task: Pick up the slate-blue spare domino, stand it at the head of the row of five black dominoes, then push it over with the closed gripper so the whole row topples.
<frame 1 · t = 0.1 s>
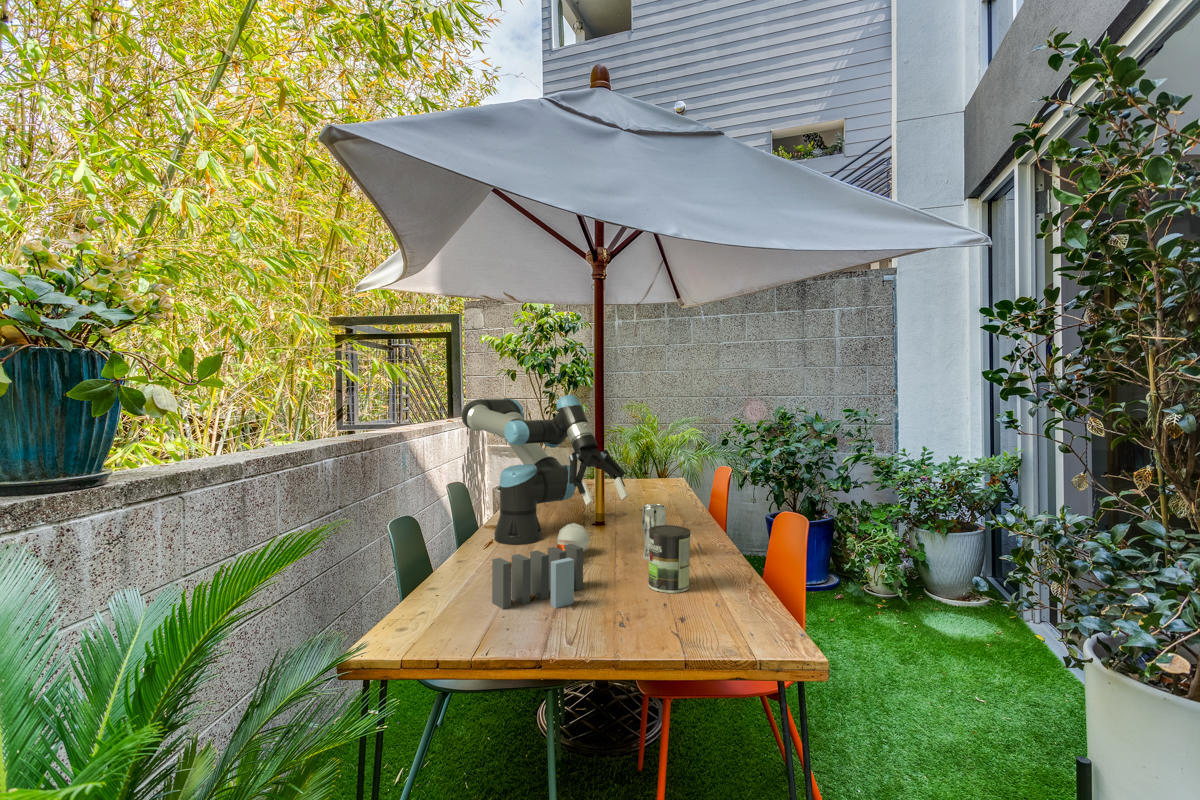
hand: (607, 500, 177), 15 cm above the table, tool tilted 35°, fingers open, 13 cm apart
domino 3: (539, 595, 139), on the table
domino 5: (501, 605, 133), on the table
silver metal cylinder: (653, 558, 171), on the table
domino 2: (556, 591, 142), on the table
coffee can: (668, 587, 147), on the table
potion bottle: (571, 559, 170), on the table
domino 1: (573, 586, 146), on the table
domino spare: (562, 604, 134), on the table
domino 4: (520, 600, 136), on the table
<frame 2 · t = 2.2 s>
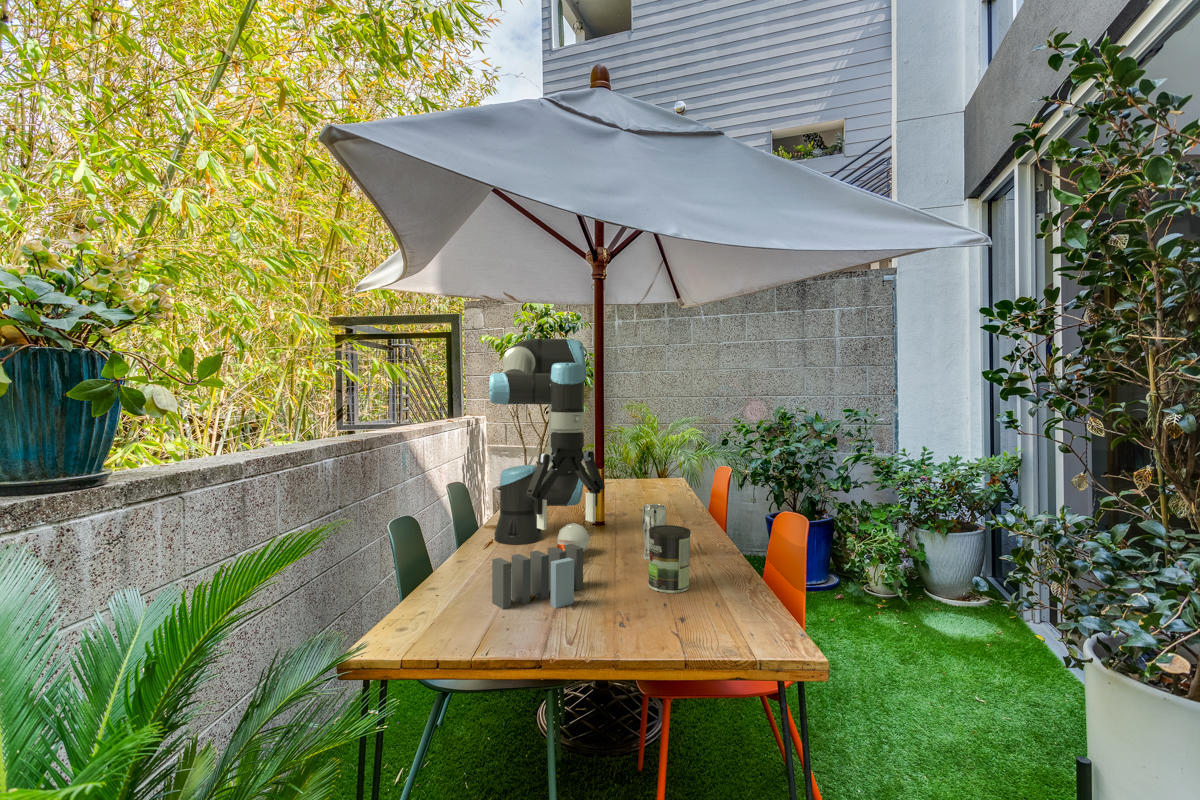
hand: (566, 525, 134), 18 cm above the table, tool pointing down, fingers open, 13 cm apart
nothing on the table moved.
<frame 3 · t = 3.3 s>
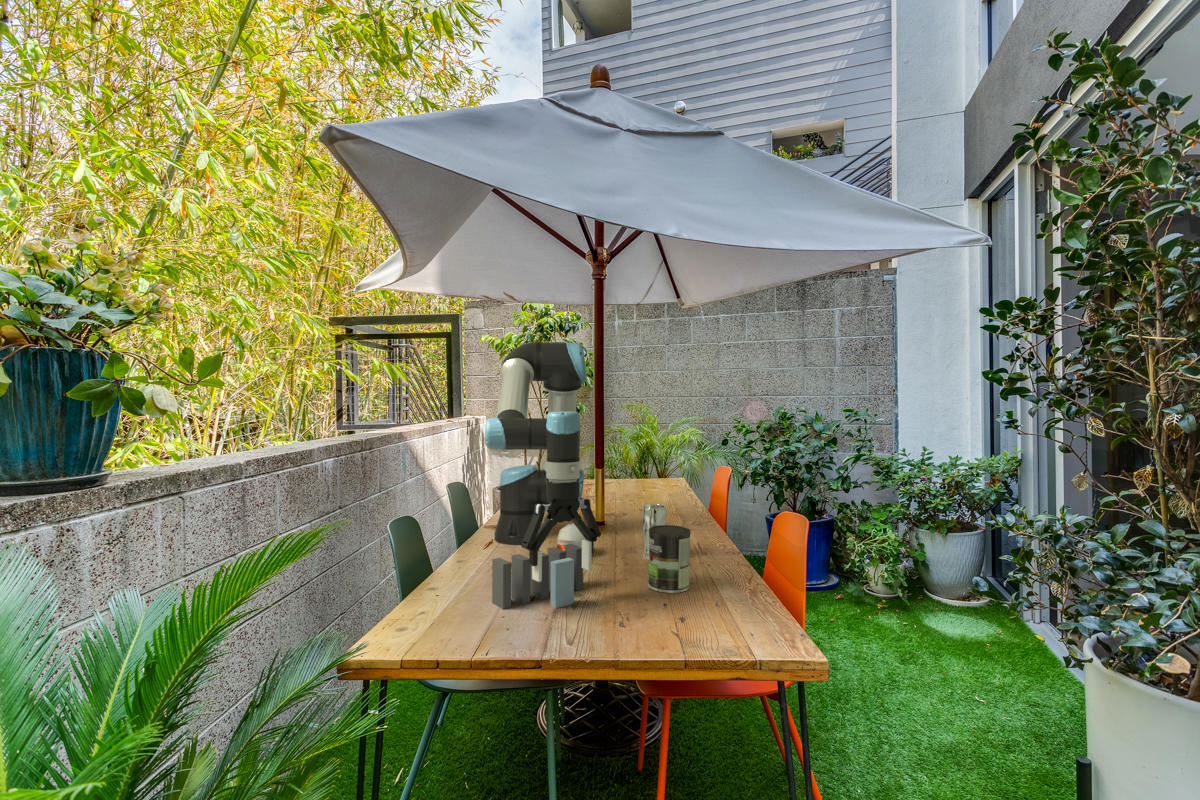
hand: (562, 574, 133), 7 cm above the table, tool pointing down, fingers open, 13 cm apart
nothing on the table moved.
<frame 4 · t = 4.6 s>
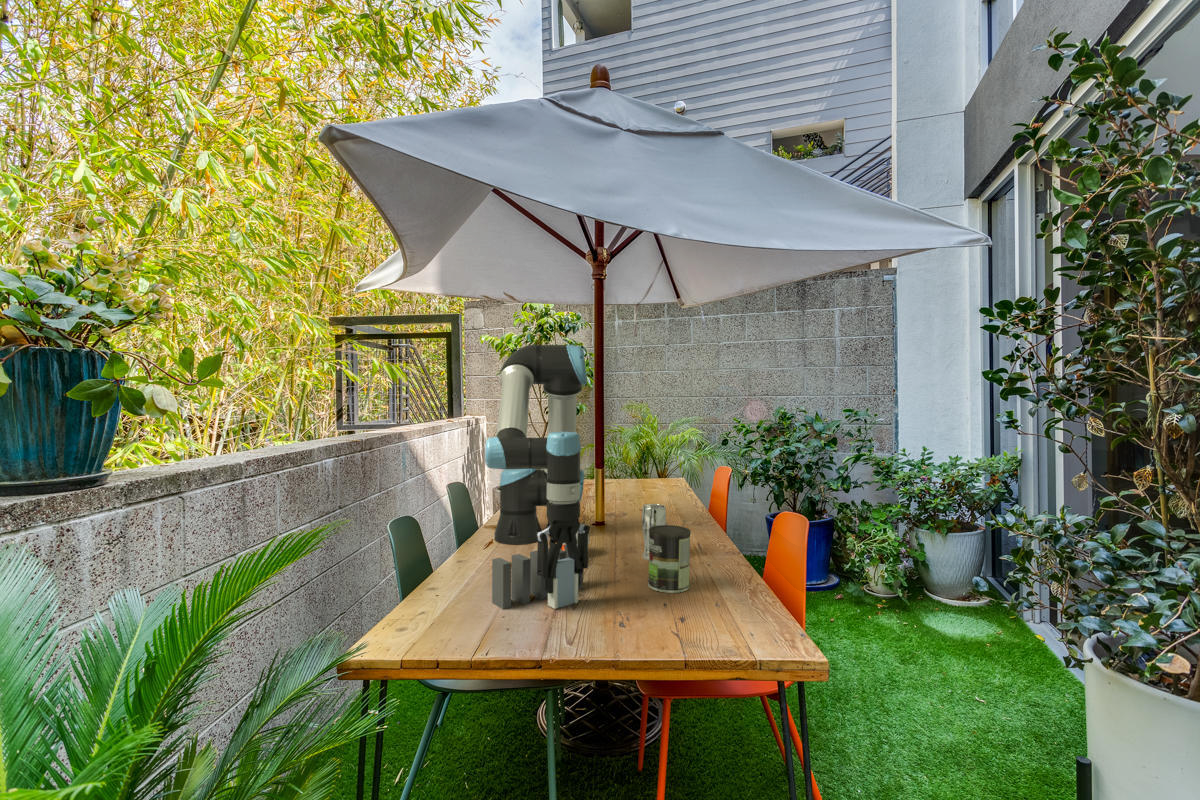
hand: (563, 603, 134), 0 cm above the table, tool pointing down, fingers closed on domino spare, 5 cm apart
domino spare: (562, 604, 134), on the table, touching gripper
everything else where it was.
when the fingers open (1 cm above the table, at t = 9.6 s): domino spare stays where it is, on the table.
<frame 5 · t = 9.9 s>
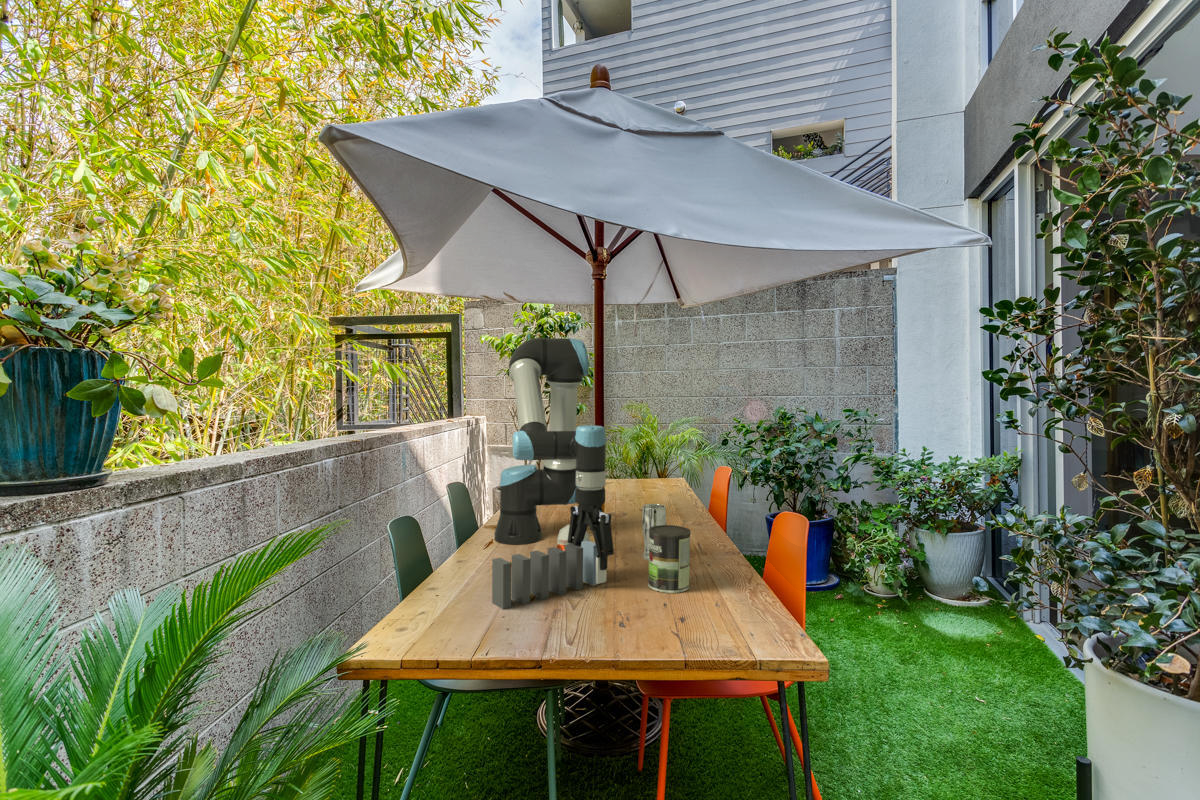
hand: (589, 577, 149), 1 cm above the table, tool pointing down, fingers open, 8 cm apart
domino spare: (590, 582, 149), on the table
everything else where it was.
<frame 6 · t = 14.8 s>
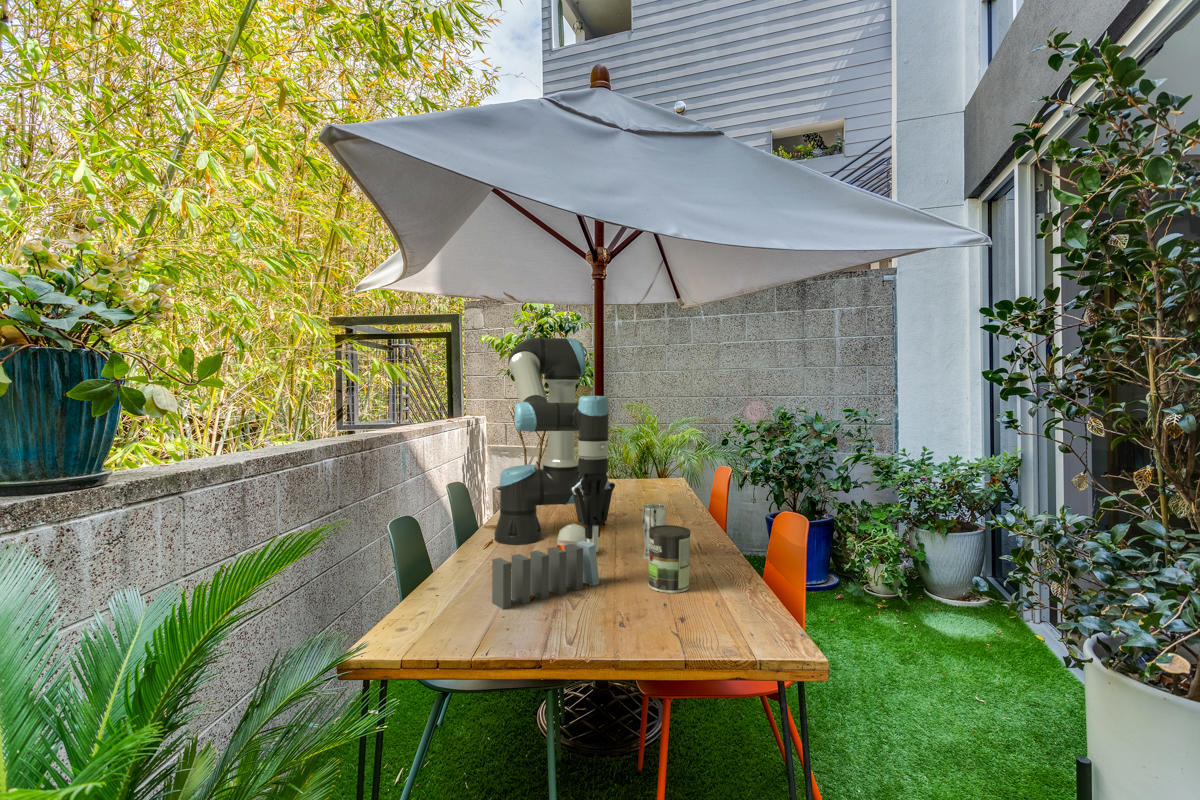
hand: (592, 550, 149), 8 cm above the table, tool pointing down, fingers closed
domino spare: (590, 582, 149), on the table, tilted 9°
everything else where it was.
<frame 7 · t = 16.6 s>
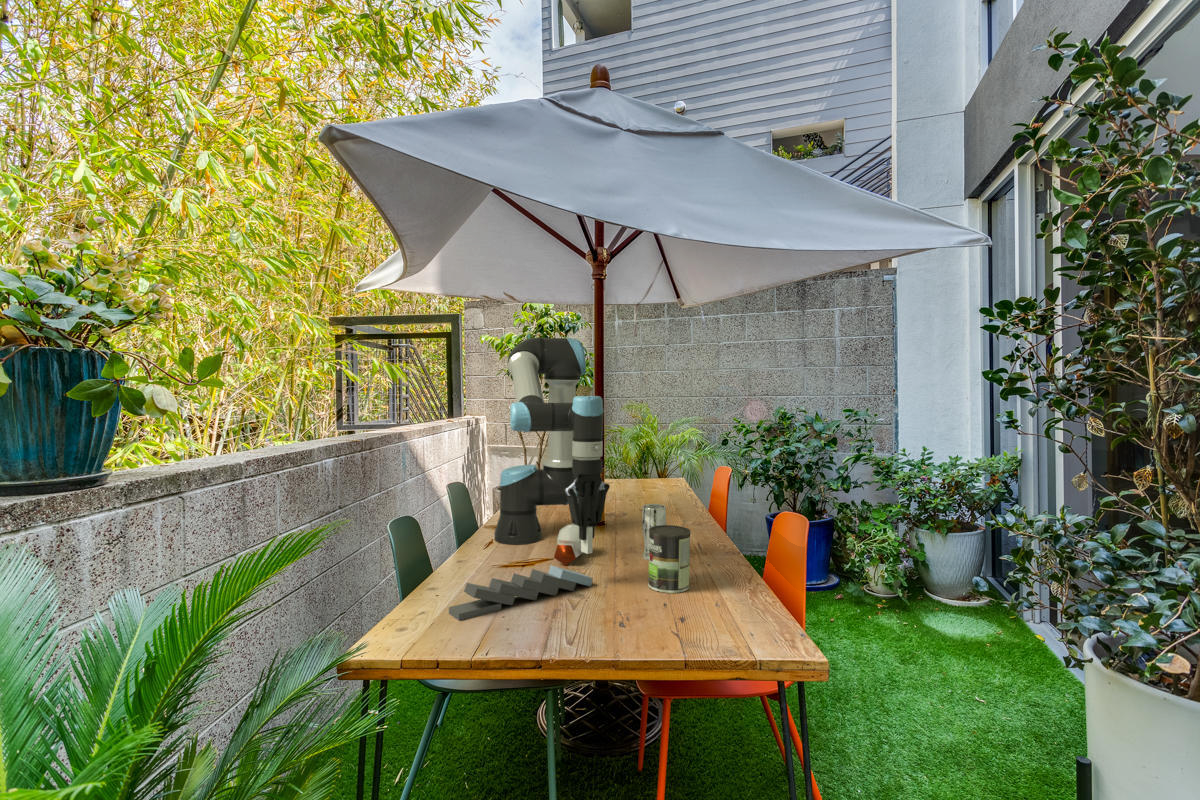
hand: (586, 552, 148), 8 cm above the table, tool pointing down, fingers closed
domino 3: (531, 593, 138), point 1 cm above the table, tilted 69°, touching domino 2
domino 5: (495, 604, 132), on the table, tilted 90°
domino 2: (551, 588, 141), point 1 cm above the table, tilted 67°, touching domino 1, domino 3
domino 1: (568, 584, 145), point 1 cm above the table, tilted 67°, touching domino 2, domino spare
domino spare: (585, 579, 148), point 1 cm above the table, tilted 67°, touching domino 1
domino 4: (508, 597, 134), point 1 cm above the table, tilted 69°
everything else where it was.
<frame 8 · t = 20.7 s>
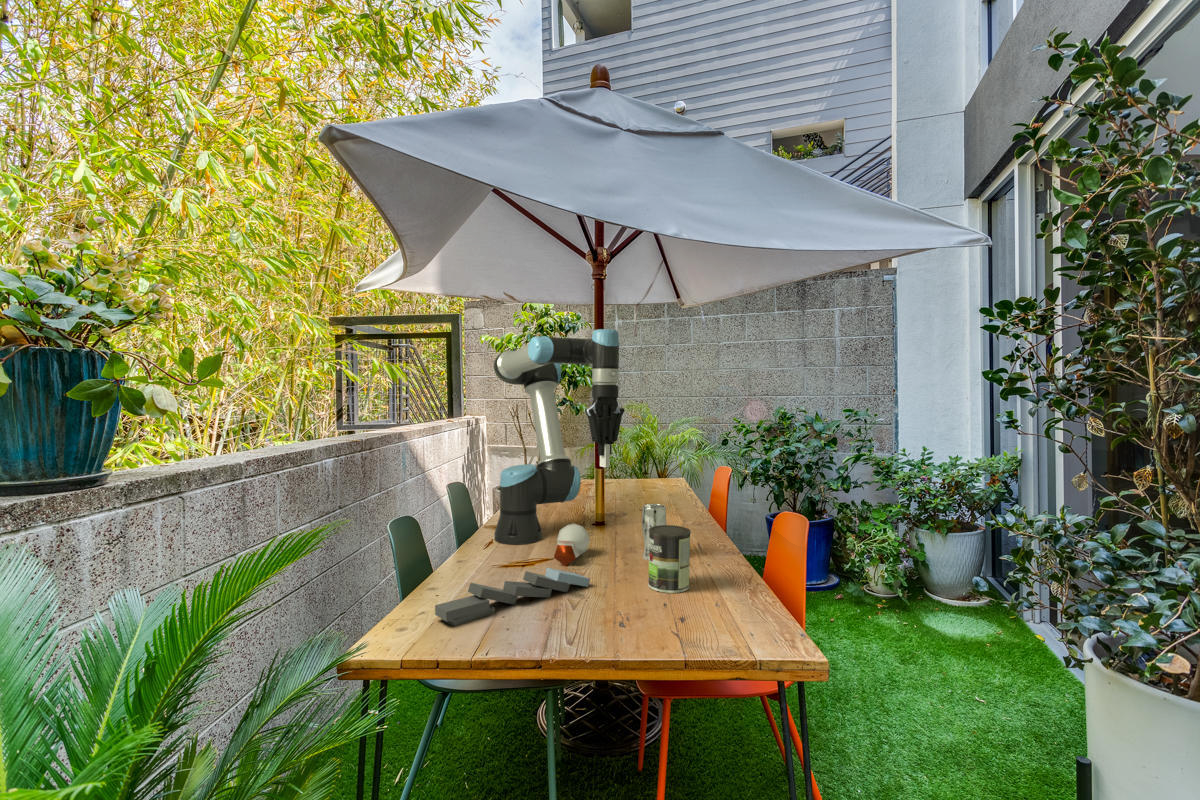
hand: (604, 466, 169), 26 cm above the table, tool pointing down, fingers closed
domino 3: (510, 597, 135), point 1 cm above the table, tilted 67°, touching domino 2, domino 4
domino 5: (487, 608, 130), on the table, tilted 90°
domino 2: (544, 590, 140), point 1 cm above the table, tilted 75°, touching domino 1, domino 3
domino 1: (562, 585, 144), point 1 cm above the table, tilted 68°, touching domino 2
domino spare: (582, 580, 148), point 1 cm above the table, tilted 70°
domino 4: (483, 602, 129), point 2 cm above the table, tilted 90°, touching domino 3
everything else where it was.
at the end: domino 5 tilted 90°; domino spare inside the target area (1.0 cm from its centre), point 0.9 cm above the table; the gripper is holding nothing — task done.
